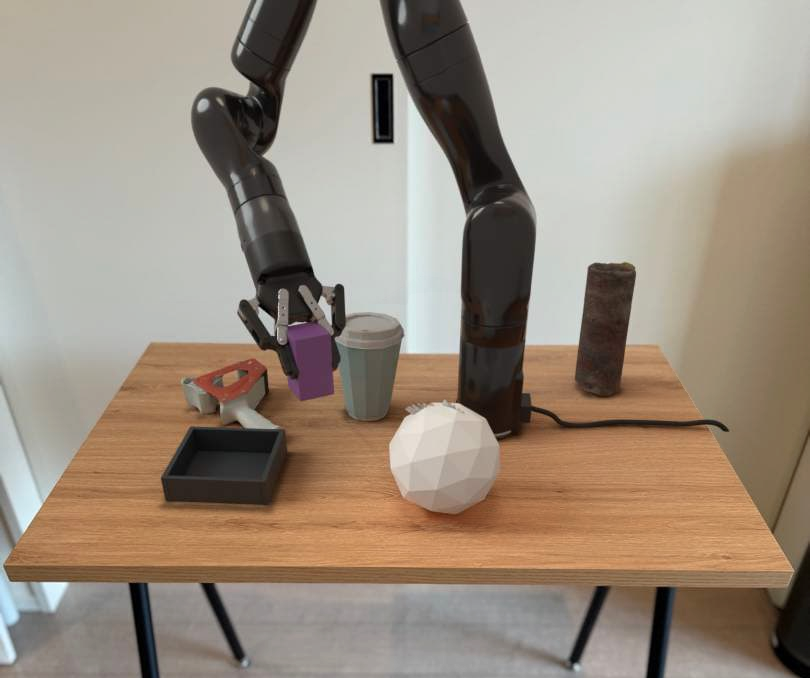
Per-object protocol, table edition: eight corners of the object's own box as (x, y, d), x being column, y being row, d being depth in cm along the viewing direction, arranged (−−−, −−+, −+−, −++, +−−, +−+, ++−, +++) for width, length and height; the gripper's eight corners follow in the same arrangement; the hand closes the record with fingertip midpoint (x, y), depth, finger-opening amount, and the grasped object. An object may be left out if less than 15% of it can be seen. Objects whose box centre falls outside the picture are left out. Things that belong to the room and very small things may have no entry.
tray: (287, 455, 113) (285, 429, 111) (268, 510, 103) (265, 481, 100) (195, 452, 114) (190, 426, 112) (166, 505, 103) (160, 478, 101)
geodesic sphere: (347, 485, 96) (419, 407, 88) (371, 428, 108) (437, 353, 100) (442, 555, 100) (520, 486, 92) (456, 493, 112) (526, 426, 103)
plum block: (288, 387, 102) (282, 326, 97) (321, 380, 103) (317, 320, 98) (300, 401, 99) (295, 340, 94) (334, 394, 100) (330, 333, 95)
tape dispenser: (279, 461, 115) (306, 390, 130) (277, 430, 111) (305, 361, 126) (159, 450, 116) (200, 381, 131) (153, 419, 112) (195, 351, 127)
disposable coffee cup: (338, 395, 128) (333, 304, 119) (405, 396, 128) (406, 305, 119) (331, 428, 120) (325, 332, 111) (403, 429, 120) (403, 334, 110)
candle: (565, 390, 130) (582, 267, 118) (580, 373, 135) (597, 253, 123) (611, 401, 127) (633, 275, 115) (625, 383, 132) (647, 261, 120)
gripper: (219, 236, 93) (263, 373, 92) (333, 220, 98) (377, 350, 97) (213, 268, 100) (254, 395, 99) (320, 252, 105) (360, 373, 104)
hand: (314, 372), depth 98 cm, fingers closed on plum block, 4 cm apart
